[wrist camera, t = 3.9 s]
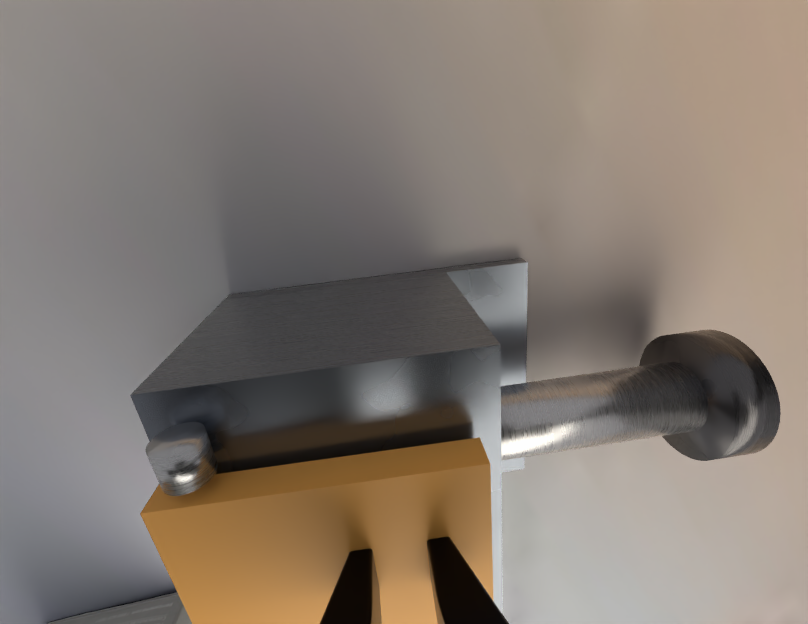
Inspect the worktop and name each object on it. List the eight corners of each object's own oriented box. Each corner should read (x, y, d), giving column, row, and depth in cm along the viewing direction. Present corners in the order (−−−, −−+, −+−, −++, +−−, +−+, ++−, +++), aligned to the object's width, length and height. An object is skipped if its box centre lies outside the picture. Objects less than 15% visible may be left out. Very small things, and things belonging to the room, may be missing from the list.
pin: (681, 312, 13) (797, 366, 9) (665, 405, 14) (760, 483, 11) (326, 360, 12) (313, 437, 9) (344, 453, 13) (339, 552, 10)
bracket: (521, 258, 12) (668, 348, 6) (519, 459, 15) (617, 646, 9) (229, 294, 12) (97, 428, 6) (285, 495, 15) (234, 717, 9)
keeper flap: (479, 437, 8) (490, 463, 7) (485, 589, 9) (494, 622, 8) (160, 481, 7) (140, 514, 7) (224, 629, 9) (213, 667, 8)
